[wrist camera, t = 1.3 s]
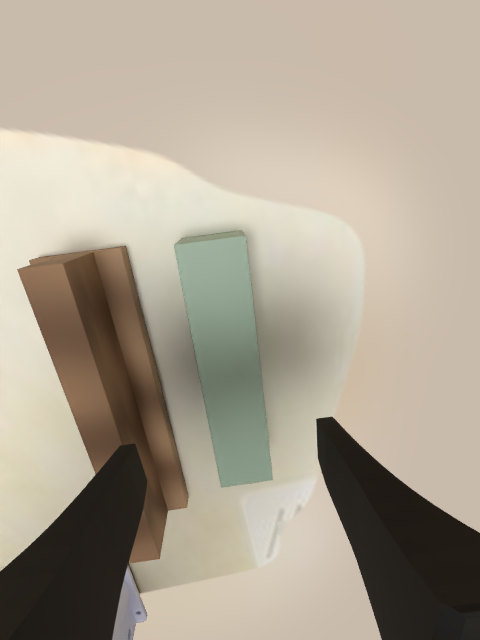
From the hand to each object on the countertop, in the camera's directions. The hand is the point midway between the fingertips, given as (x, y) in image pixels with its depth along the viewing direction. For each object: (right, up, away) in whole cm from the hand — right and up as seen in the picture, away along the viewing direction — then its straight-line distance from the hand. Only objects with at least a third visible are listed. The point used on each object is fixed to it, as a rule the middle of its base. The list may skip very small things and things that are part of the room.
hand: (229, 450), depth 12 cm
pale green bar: (0, +3, +9) cm, 9 cm away
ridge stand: (-7, 0, +9) cm, 12 cm away
